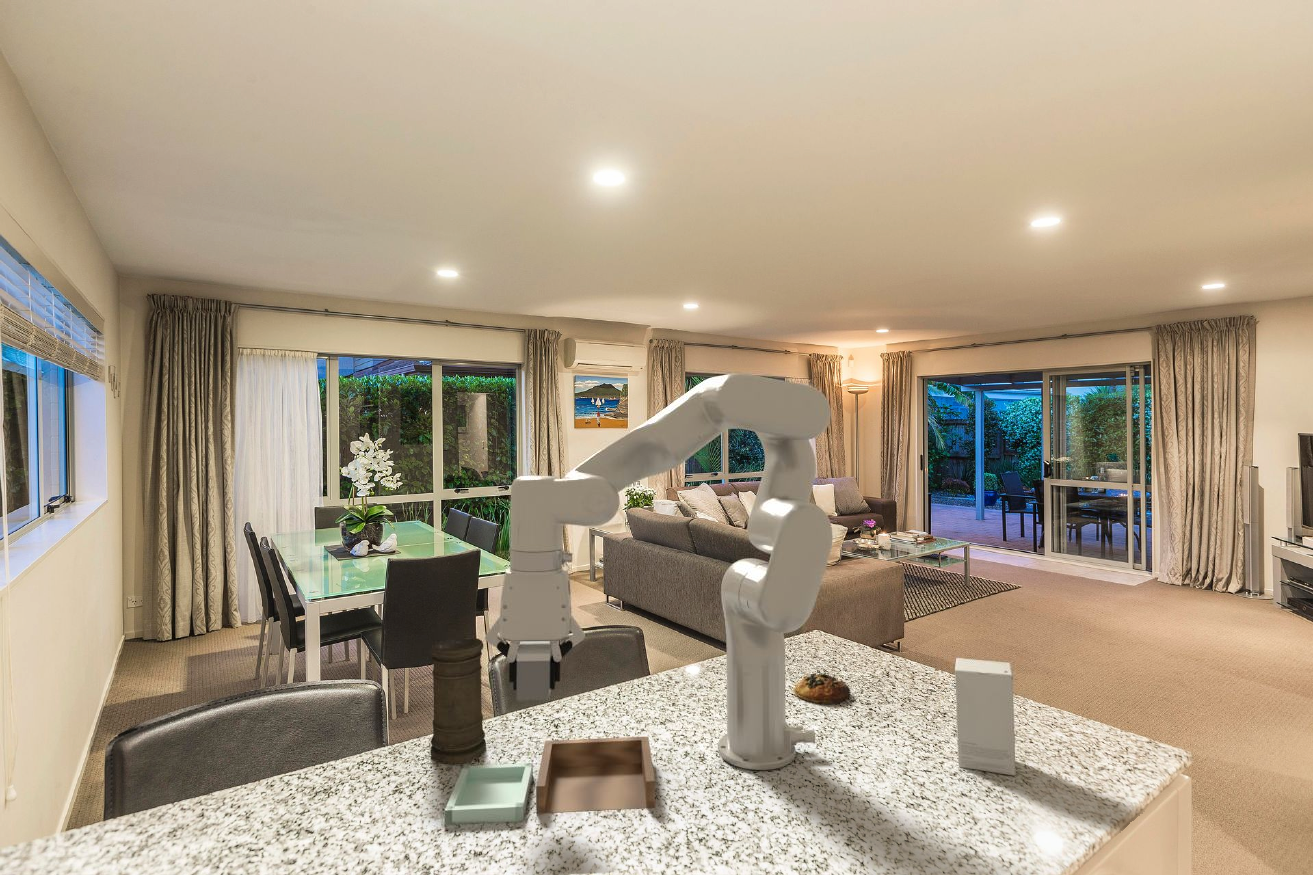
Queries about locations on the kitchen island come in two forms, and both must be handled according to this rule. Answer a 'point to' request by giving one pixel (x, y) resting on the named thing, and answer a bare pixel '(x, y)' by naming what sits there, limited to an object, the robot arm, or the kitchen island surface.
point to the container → (457, 700)
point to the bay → (595, 775)
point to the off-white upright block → (533, 670)
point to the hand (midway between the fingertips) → (534, 685)
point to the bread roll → (822, 689)
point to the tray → (490, 794)
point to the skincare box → (985, 716)
